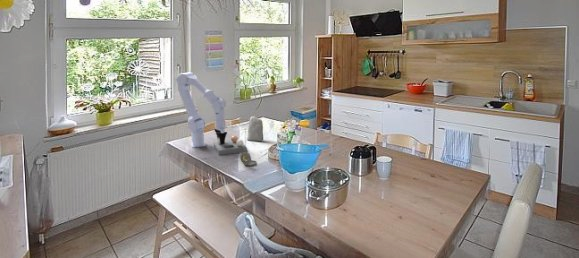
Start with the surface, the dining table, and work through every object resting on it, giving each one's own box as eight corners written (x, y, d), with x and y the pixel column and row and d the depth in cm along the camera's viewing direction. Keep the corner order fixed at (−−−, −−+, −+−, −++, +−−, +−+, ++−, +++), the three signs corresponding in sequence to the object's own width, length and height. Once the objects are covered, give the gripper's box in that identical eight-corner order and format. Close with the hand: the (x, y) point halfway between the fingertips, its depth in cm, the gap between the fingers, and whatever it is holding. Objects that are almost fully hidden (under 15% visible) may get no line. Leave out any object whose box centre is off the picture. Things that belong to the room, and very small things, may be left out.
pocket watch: (256, 161, 196) (256, 143, 194) (256, 167, 188) (255, 148, 186) (241, 162, 196) (240, 144, 194) (239, 167, 188) (238, 148, 185)
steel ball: (217, 143, 222) (216, 136, 221) (223, 142, 224) (223, 135, 223) (218, 144, 219) (218, 138, 218) (225, 144, 220) (224, 137, 219)
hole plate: (213, 146, 224) (213, 142, 223) (239, 143, 230) (239, 139, 229) (218, 154, 209) (218, 150, 208) (246, 151, 214) (246, 147, 214)
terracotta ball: (230, 141, 225) (230, 135, 224) (237, 140, 226) (236, 134, 225) (232, 143, 221) (231, 136, 220) (238, 142, 223) (238, 136, 222)
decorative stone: (265, 140, 236) (264, 117, 232) (259, 142, 231) (258, 118, 228) (251, 137, 242) (250, 115, 238) (245, 140, 237) (244, 117, 233)
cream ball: (235, 145, 217) (235, 139, 216) (242, 144, 218) (242, 138, 217) (237, 147, 213) (237, 140, 212) (244, 146, 215) (243, 139, 214)
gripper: (229, 121, 212) (230, 144, 216) (224, 116, 226) (225, 138, 229) (216, 122, 210) (218, 145, 213) (212, 117, 223) (213, 139, 226)
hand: (221, 142), depth 221 cm, fingers open, 7 cm apart
